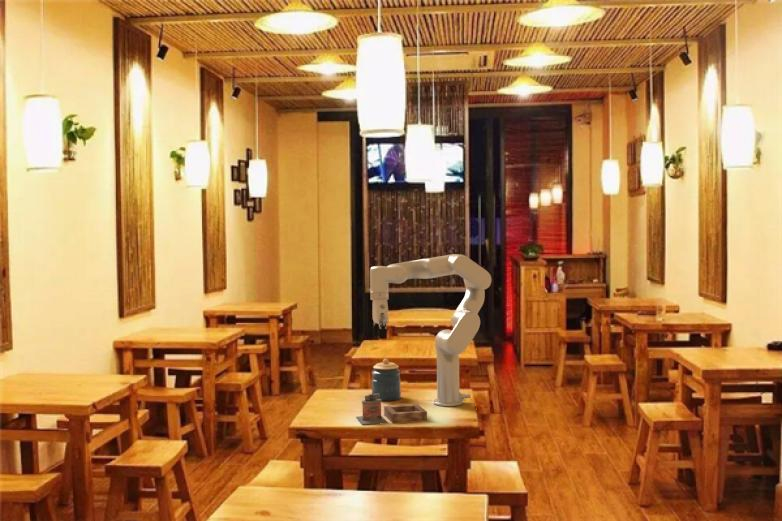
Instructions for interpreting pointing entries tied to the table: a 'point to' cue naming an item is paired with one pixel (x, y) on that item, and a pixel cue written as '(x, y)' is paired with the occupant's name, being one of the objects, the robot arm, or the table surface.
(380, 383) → the canister
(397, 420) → the frame
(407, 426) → the table surface
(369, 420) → the charcoal mat
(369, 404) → the lighter
